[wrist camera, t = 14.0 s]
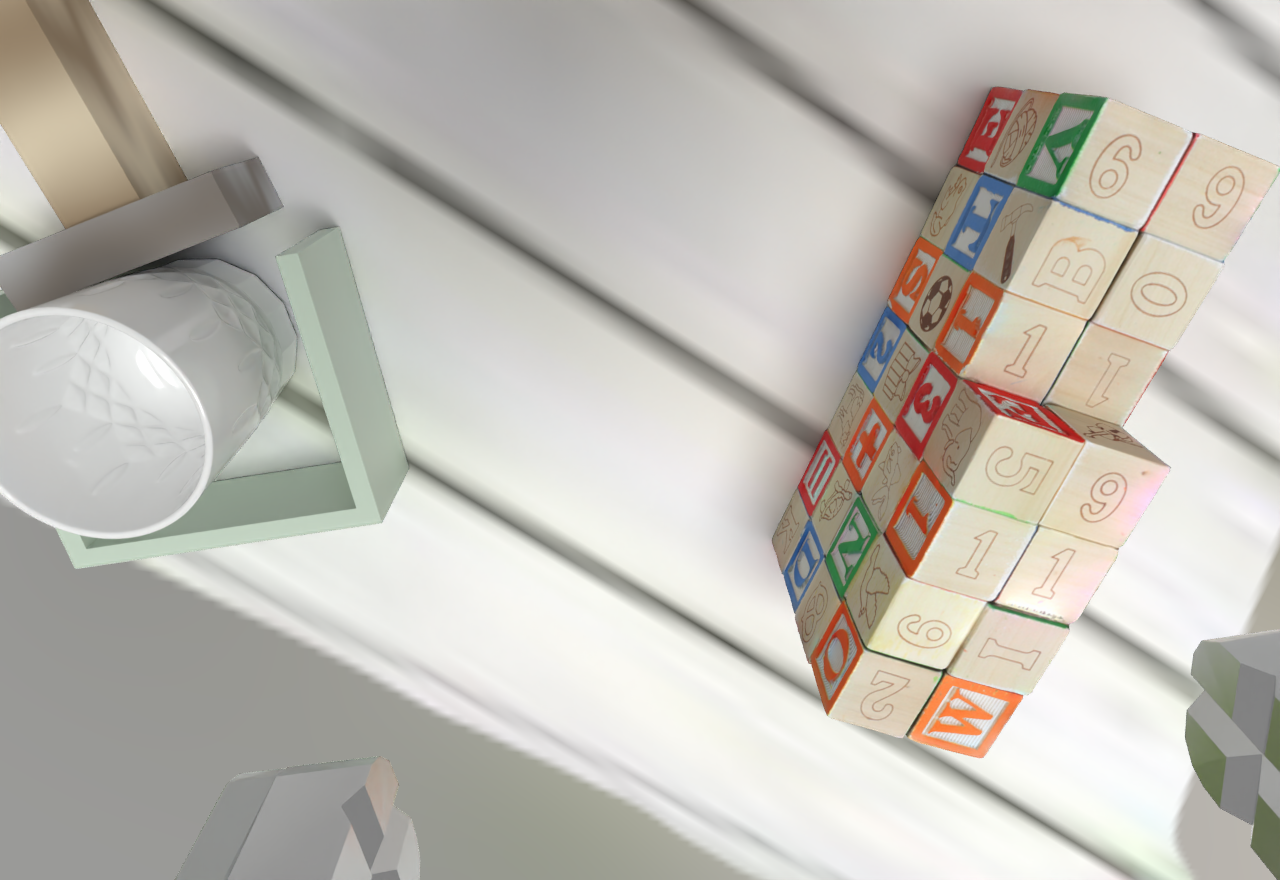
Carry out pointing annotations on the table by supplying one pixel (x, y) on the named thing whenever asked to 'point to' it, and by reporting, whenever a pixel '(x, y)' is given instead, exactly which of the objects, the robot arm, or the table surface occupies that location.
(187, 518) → the box
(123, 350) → the white cup
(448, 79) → the table surface
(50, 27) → the scraper
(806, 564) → the stack of blocks
